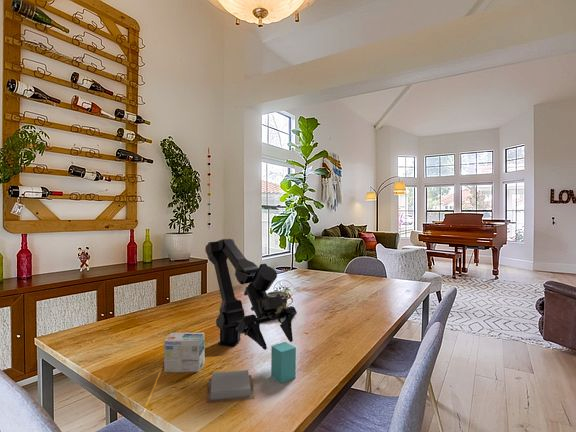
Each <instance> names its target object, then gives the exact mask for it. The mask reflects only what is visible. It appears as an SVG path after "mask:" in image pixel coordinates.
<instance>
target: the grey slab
mask: <svg viewBox="0 0 576 432" xmlns="http://www.w3.org/2000/svg"><path fill="white" fill-rule="evenodd" d="M211 374H212V375H211V378H212V382H211V400H215V399H226V398H236V397H247V396H251V388H250V381H249V375H250V374H249V369H244V370H243V369H242V370H230V371H229V370H227V371H219V372H218V371H217V372H215V371H214V372H212V373H211Z"/></svg>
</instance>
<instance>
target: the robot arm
mask: <svg viewBox="0 0 576 432" xmlns="http://www.w3.org/2000/svg"><path fill="white" fill-rule="evenodd" d="M204 252H205V253H206V255H207V258H208V261H209V262H211V264H212V265H213V266H214V271H215V275H216V279H217V284H218V288H219V295H220V297H221V303H220V306H219V311H218V312H219V314H218V316H217V318H216V319H215V323H216V324H215V325H216V327H217V328H218V329H219V342H218V343H217V345H219V346H227V347H228V346H229V347H235V346H237V345H238V343H239V342H240V341H241V334H243V335H244V336H248V337H249V338H250V339H251V340H253V341H254V342H255V343H256V344H257V345H258V346H259V347H261V348H262V349H263V350H264V351H266V350H267V349H268V346H267V344H266V340H265V338H264V336H263V334H262V332H261V327H260V326H261V325H262V324H265V323H271V322H274V321H278V322H279V323H280V324H279V327H280V328H281V330H282V332H283V333H284V335H285V337H286V338H287V340H288V341H289V342H290V343H292V342H293V341H294V339H293V331H292V329H293V328H292V321H293V319H294V318H295V316H296V315H297V314H298V311H297V310H296V308H295V307H294V306H292V305H291V306H290V305H289V306H288V307H286V308H283V309H282V310H281V312H280V313H277V314H276V313H275V312H276V311H278V307H280V306H284V305H283V304H284V303H286V302H287V303H288V300H287V299H286V296H285V295H284V293H279V294H277V295H276V296H275V297H271V296H268V295H267V293H268V292H267V291H269V289H270V288H271V286H272V285H273V283H274V282H275V281H276V279H277V277H278V273H277V271H276V270H275V269H274V268H272V266H268V264H267V263H260V265H259V266H258V265H257V264H255V262H252V261H251V260H249V259H247V258H246V257H245V255H244V254H243V253H242V251H241V250H240V249H239V248H238V246H237V245H236V244H235V240H234V239H232V238H223V239H219V240H217V241H209V242H208V243H207V244H206V245H205V251H204ZM228 260H229V262H230V263H231V265H232V267H234V270H235V272H234V276H235V278H236V280H237V282H238V283H239V284H240V285H246V284H248V285H247V286H245V290H244V291H243V295H244V296H248V300H249V302H250V304H251V307H250V310H251V312H254V313H252V314H248V315H245V314H246V313H245V309H244V307H243V302H242V300H241V299H238V298H236V296H235V293H234V292H235V291H234V288H233V283H232V279H231V275H230V271H229V267H228V262H227V261H228Z"/></svg>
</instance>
